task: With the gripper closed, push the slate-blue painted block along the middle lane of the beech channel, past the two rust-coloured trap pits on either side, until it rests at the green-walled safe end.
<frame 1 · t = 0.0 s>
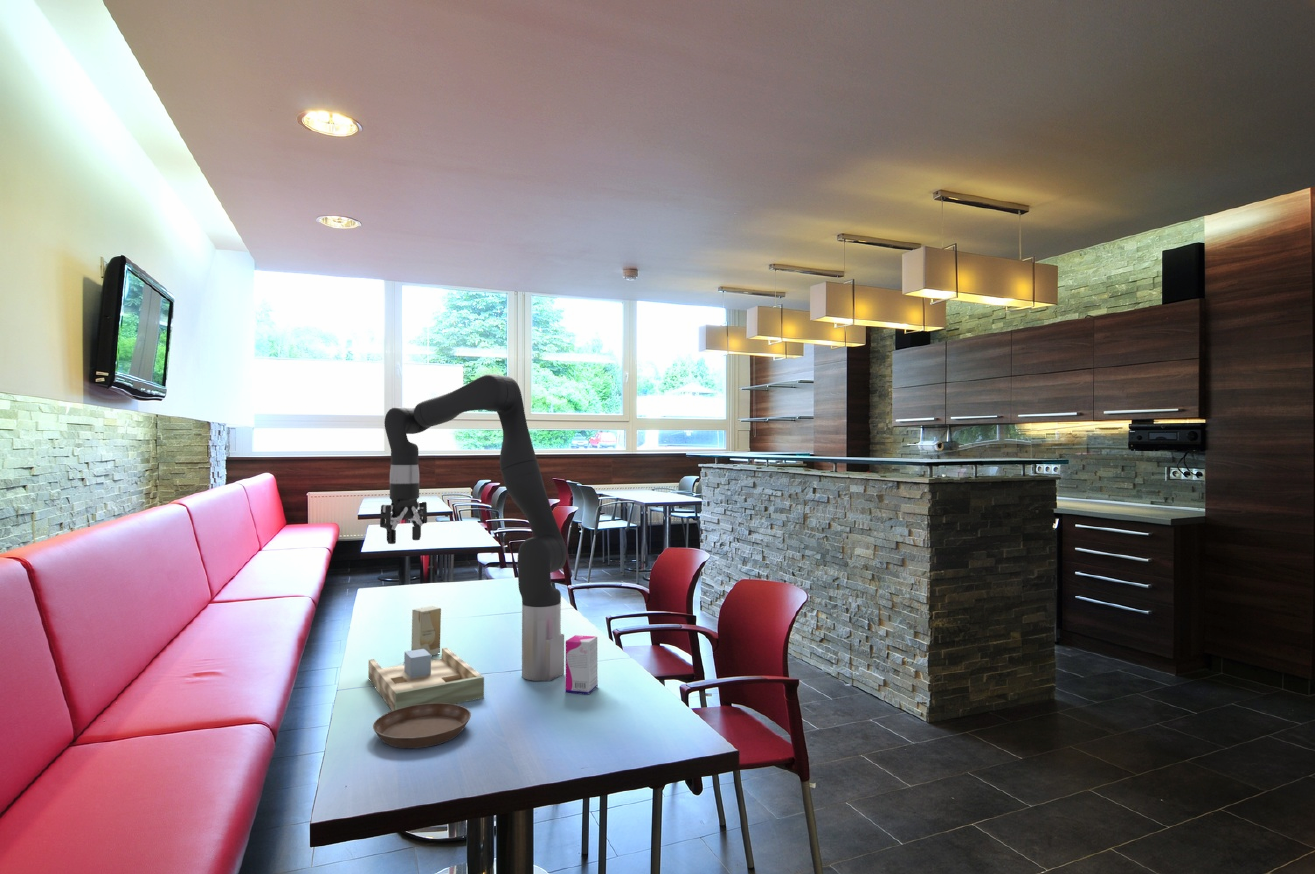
hand: (404, 541, 187), 29 cm above the table, tool pointing down, fingers open, 8 cm apart
plant saucer: (422, 735, 133), on the table
supplement box: (581, 690, 157), on the table
block: (417, 672, 162), point 2 cm above the table, touching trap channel
skincare box: (426, 655, 183), on the table
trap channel: (423, 687, 158), on the table
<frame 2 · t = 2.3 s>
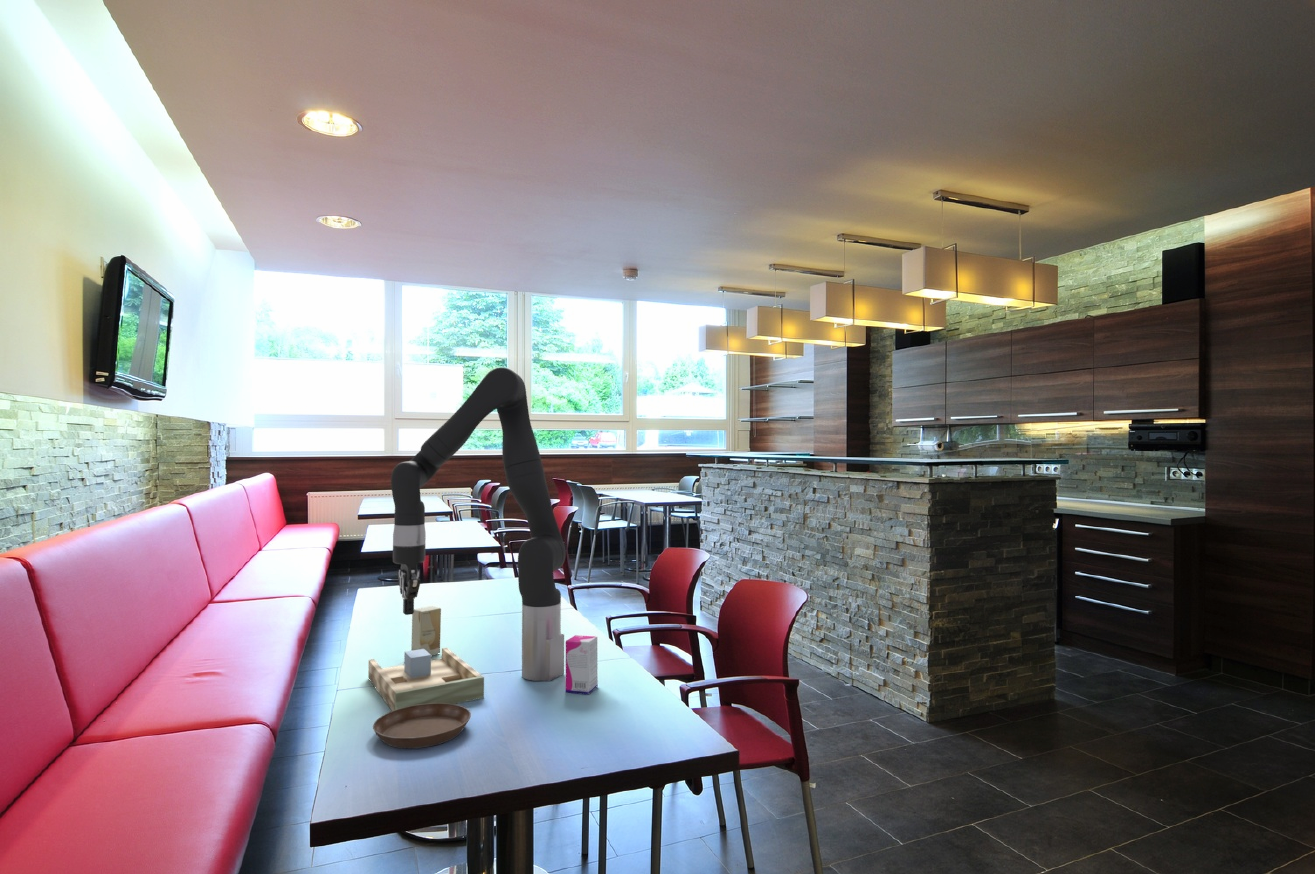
hand: (408, 613, 170), 14 cm above the table, tool pointing down, fingers closed
nothing on the table moved.
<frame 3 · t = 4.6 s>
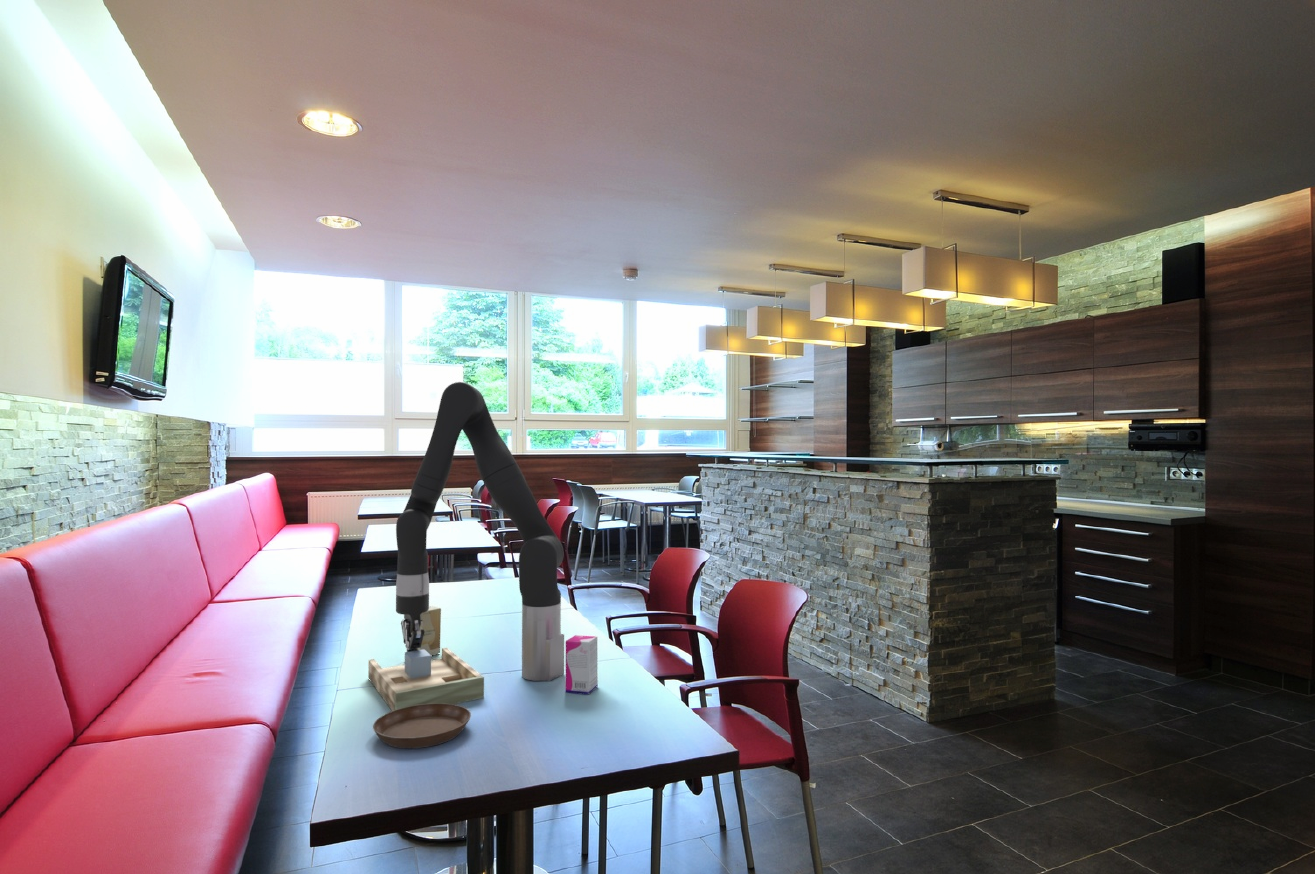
hand: (412, 664, 167), 3 cm above the table, tool pointing down, fingers closed
block: (417, 673, 162), point 2 cm above the table, touching gripper
everything else where it was.
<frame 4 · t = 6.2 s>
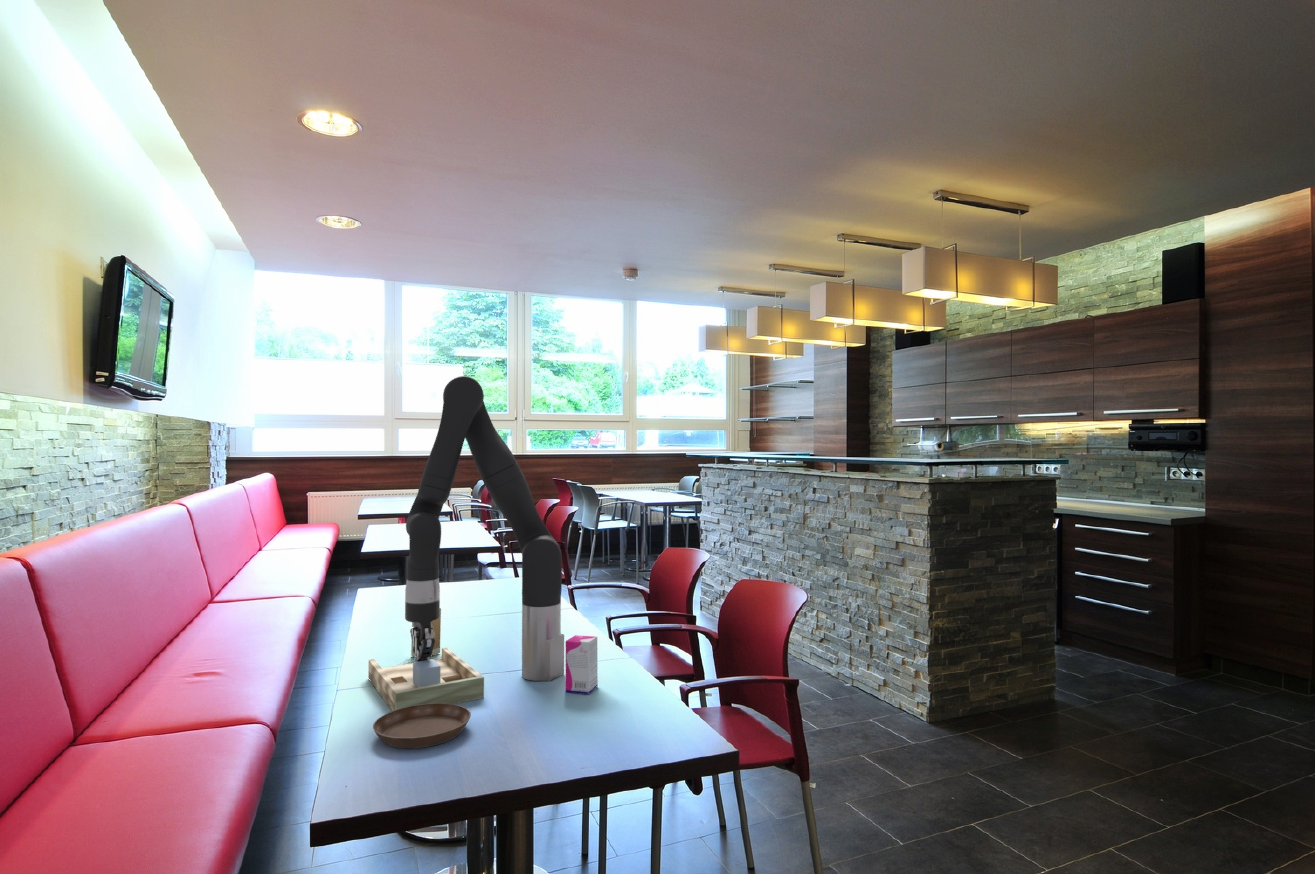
hand: (421, 674, 159), 3 cm above the table, tool pointing down, fingers closed
block: (426, 684, 154), point 2 cm above the table, touching gripper, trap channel
everything else where it was.
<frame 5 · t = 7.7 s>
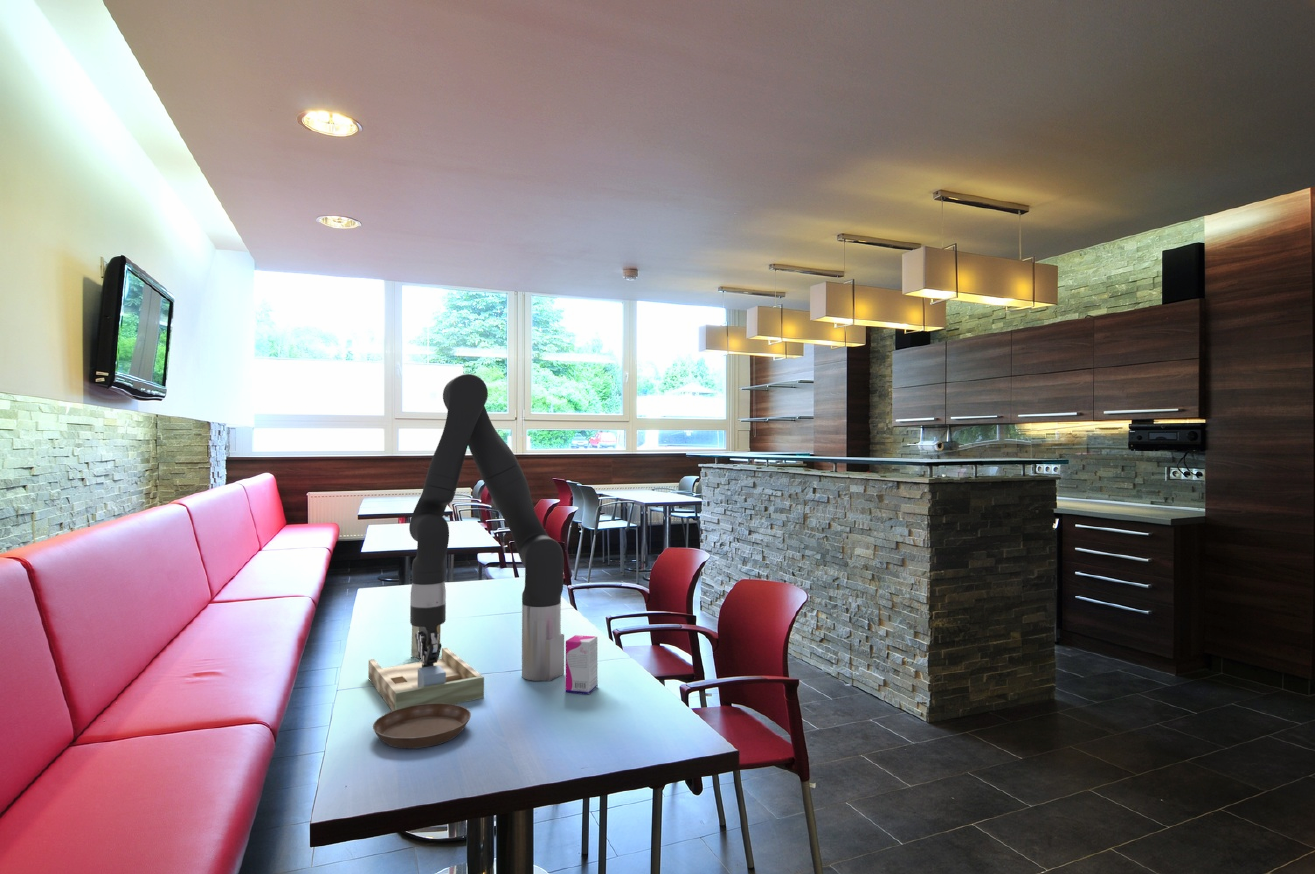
hand: (427, 680, 155), 3 cm above the table, tool pointing down, fingers closed
block: (431, 691, 150), point 2 cm above the table, touching gripper, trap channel
everything else where it was.
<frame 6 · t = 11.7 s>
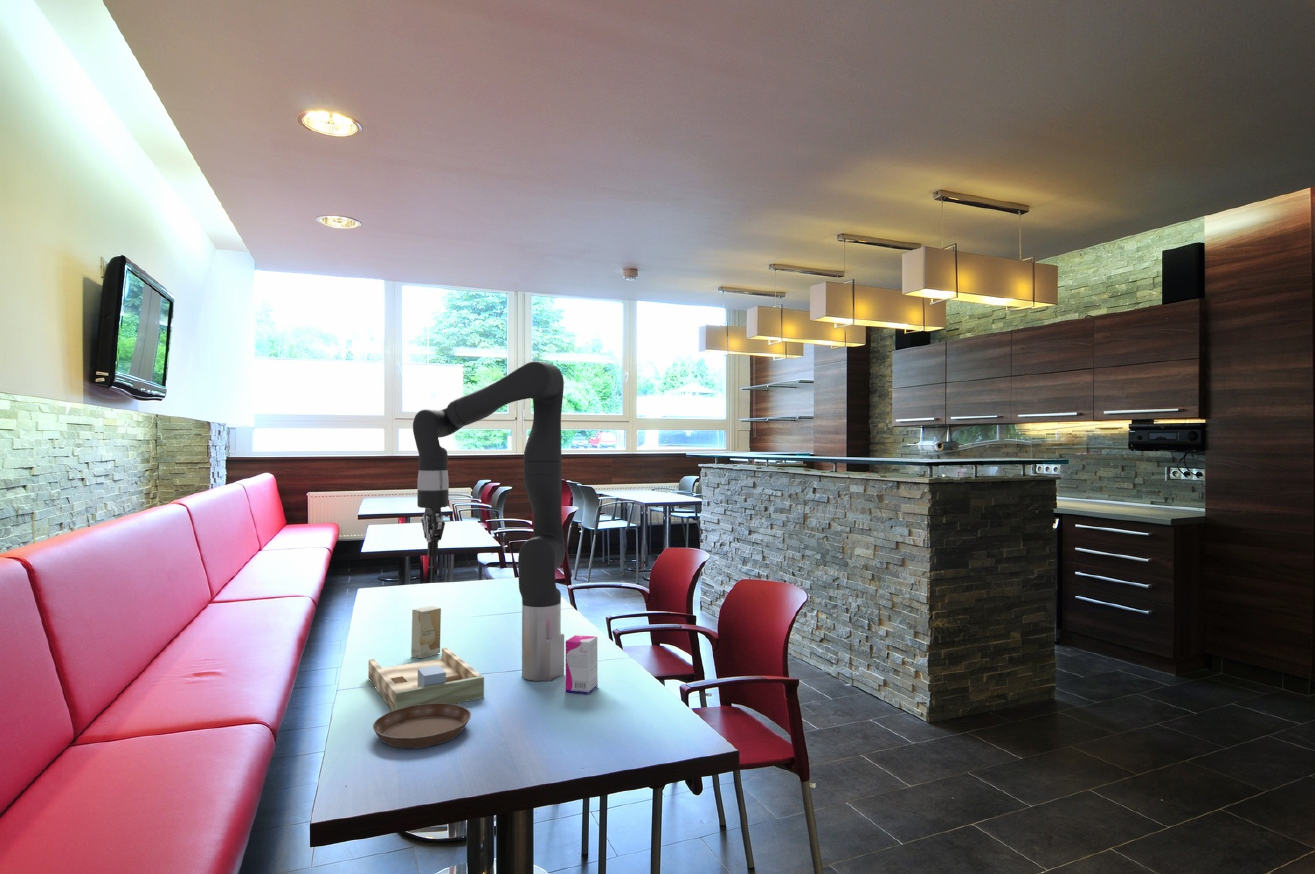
hand: (432, 556, 176), 27 cm above the table, tool pointing down, fingers closed
block: (431, 691, 150), point 2 cm above the table, touching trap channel
everything else where it was.
at the end: block 1.3 cm from the target spot, point 2.0 cm above the table; block tilted 0°; the gripper is holding nothing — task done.
